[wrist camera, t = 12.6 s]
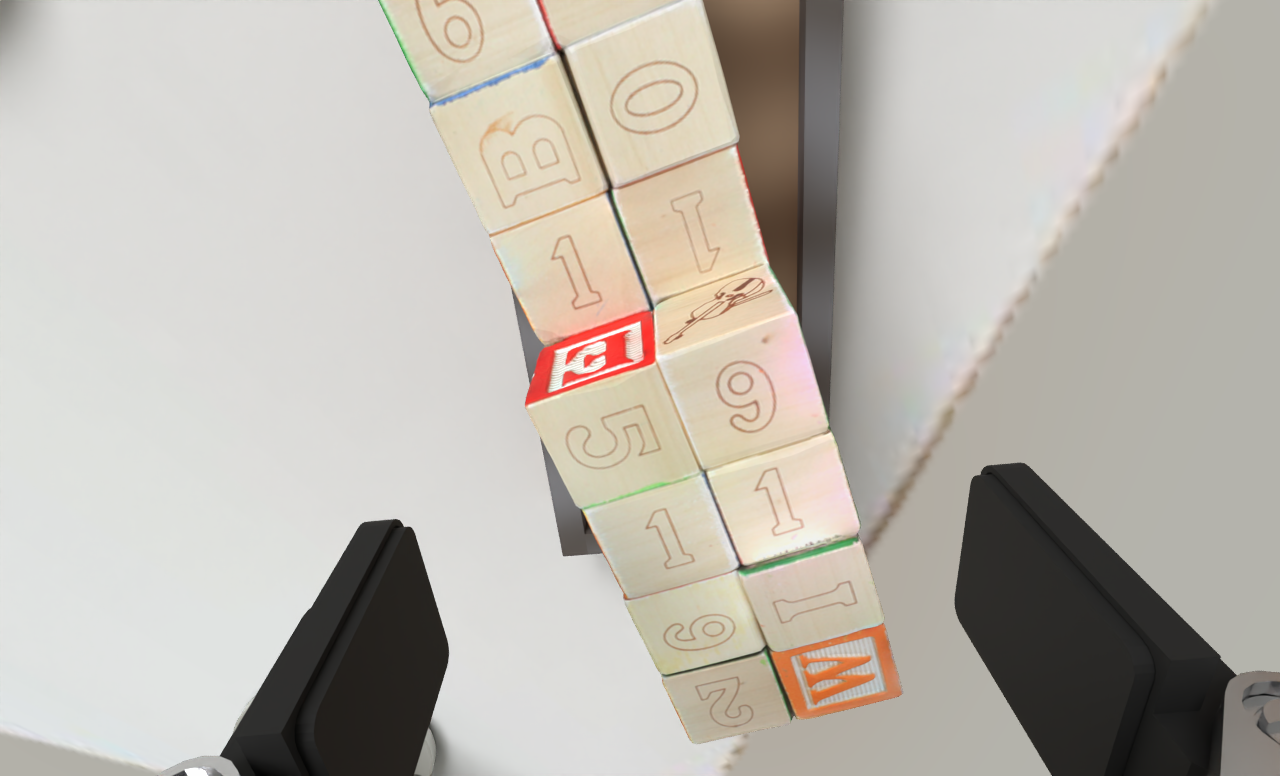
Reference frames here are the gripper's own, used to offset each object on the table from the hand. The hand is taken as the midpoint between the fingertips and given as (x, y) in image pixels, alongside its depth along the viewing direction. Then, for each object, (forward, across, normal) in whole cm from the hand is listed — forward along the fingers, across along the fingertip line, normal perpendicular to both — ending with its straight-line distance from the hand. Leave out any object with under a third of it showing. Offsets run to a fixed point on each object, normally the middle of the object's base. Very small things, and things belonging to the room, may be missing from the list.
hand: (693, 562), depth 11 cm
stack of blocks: (+16, 0, -1) cm, 16 cm away
